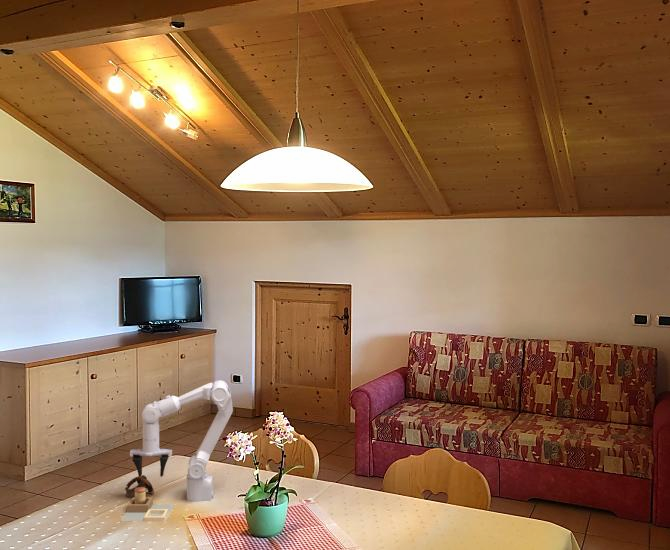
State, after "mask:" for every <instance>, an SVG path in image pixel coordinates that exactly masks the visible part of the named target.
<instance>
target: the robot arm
mask: <svg viewBox="0 0 670 550" xmlns="http://www.w3.org/2000/svg"><path fill="white" fill-rule="evenodd" d="M231 394H232V393H231V389H230V387H229V385H228V384H227V382H226V381H224V380H222V379H218V380H215V381H214V382H209V383H206V384H204V385H201V386H200V387H197V388H195V389H193V390H191V391H188V392H186V393H184V394H182V395H179V396H176V395H170V394H168V395H166V396H165V398H163V399H161V400H158V401H157V400H155V401H153V403H148V404H147V405H145V407H144V408H143V410H142V413H141V417H142V448H137V449H135V448H134V449H132V448H131V449H130V451H129V457H131V458H132V459H131V460H132V462H133V464H134V465H135V468H136V470H137V475H138V477H141V476H142V475H143V465H142V464H143V457H156V456H157V457H160V458H159V462H160V463H159V464H160V471H159V473H160V474H159V475H160V477H163V476H164V472H165V469H166V465H167V463H168V459H169V457H172V456H173V449H168V448H167V449H166V448H160V424H159V423H160V422H159V421H160V419H159V418H163V417H166V416H168V415H172V414H174V413H175V412H178V411H180V409H181V406H184V405H186V404H190V403H192V402H195V401H198V400H200V399H204V400H207V401H211V400H212V401H213V402H214V403H215V404H216V406H217V409H218V411H217V413H216V414H215V417H214V419H213V421H212V423H211V425H210V426H209V429H207V432H206V433H205V434H206V435H205V436H204V438H203V440H202V442H201V444H200V445H199V447H198V449H197V450H196V451H195V453H194V454H193V455H192V456H191V457H190V458H189V459H188V467H187V474H186V500H187V501H188V502H196V503H197V502H212V499H213V497H214V476H212V475H209V474H208V472H207V471H206V468H207V465H208V463H209V459H210V457H211V454H212V453H213V451H214V449H215V447H216V445H217V443H218V441H219V440H220V437H221V435H222V434H223V431H224V429H225V427H226V426H227V424H228V422H229V420H230V418H231V416H232V414H233V411H234V408H233V401H232V395H231Z"/></svg>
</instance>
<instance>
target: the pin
mask: <svg viewBox="0 0 670 550" xmlns="http://www.w3.org/2000/svg"><path fill="white" fill-rule="evenodd" d="M146 490H147V489H146V488H145V487H138V488H135V495H134V497H135V504H146V497H147V496H146V493H147V492H146Z"/></svg>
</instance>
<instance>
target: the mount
mask: <svg viewBox="0 0 670 550" xmlns="http://www.w3.org/2000/svg"><path fill="white" fill-rule="evenodd" d="M174 507H175V504H173V503H169V504H165V503H164V504H163V503H159V504H157V503H154V497H149V496H146V504H135V496H134V497H132V498H131V499H130V501H129V503H128V504H127V511H125V513H124V515H123V516H122V518H121V519H120V522H167V520H168V518H169V516H170V514H171V512H172V510H173V508H174Z"/></svg>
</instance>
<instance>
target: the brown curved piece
mask: <svg viewBox="0 0 670 550" xmlns="http://www.w3.org/2000/svg"><path fill="white" fill-rule="evenodd" d="M135 483H137V485H136V486H135V487H133V488H130V487H131V486H132V485H133V484H135ZM138 487H145V488H146V490H147V492H151V493H150V494H151V495H152V496H154V495H155V492H154V487H153V485H152V483H151V482H150V480H149V479H147V476H146V475H143V474H142V475H141V477H139V476H136V477H134V478H132V479H130V480H129V481H128V482H127V483H126V487H125V488H124V491H125V492H126V493H125V496H126V497H132V496H134V497H135V488H138Z"/></svg>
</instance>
